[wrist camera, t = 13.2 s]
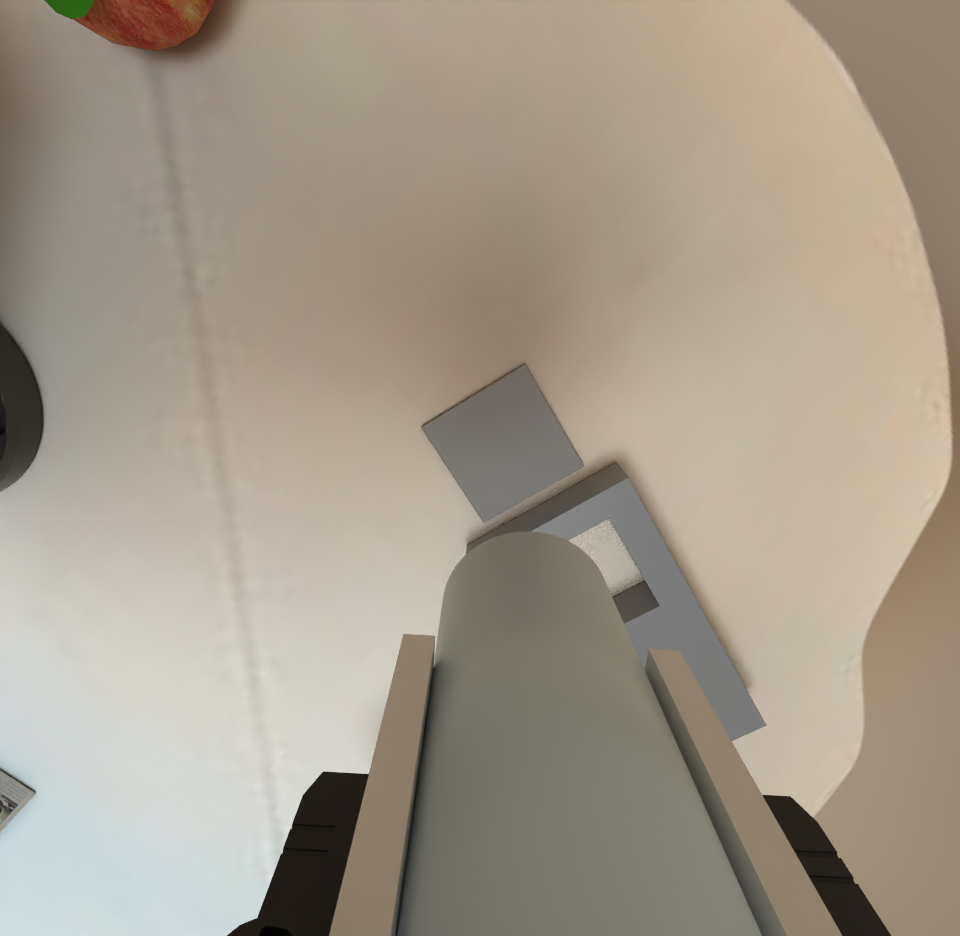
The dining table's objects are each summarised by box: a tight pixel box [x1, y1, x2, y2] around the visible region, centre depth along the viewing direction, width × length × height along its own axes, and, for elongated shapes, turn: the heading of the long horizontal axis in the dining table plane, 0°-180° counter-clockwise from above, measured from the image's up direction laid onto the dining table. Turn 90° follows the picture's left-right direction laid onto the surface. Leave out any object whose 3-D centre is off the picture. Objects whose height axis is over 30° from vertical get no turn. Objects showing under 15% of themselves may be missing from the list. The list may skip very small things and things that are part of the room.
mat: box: [421, 364, 583, 523], centre depth 36 cm, size 8×8×1 cm
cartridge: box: [396, 532, 762, 936], centre depth 10 cm, size 5×5×15 cm
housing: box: [466, 462, 766, 741], centre depth 39 cm, size 22×12×4 cm, turn 31°
